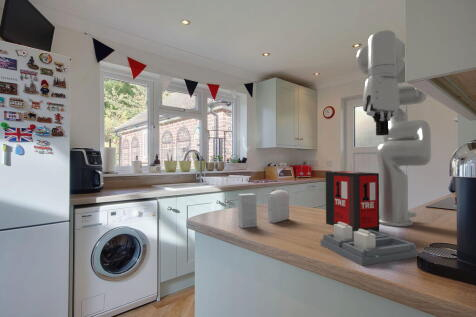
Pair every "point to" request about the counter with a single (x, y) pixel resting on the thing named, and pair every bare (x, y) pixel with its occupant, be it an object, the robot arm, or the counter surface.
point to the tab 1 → (342, 231)
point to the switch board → (382, 252)
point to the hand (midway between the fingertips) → (382, 134)
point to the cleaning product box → (353, 199)
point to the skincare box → (247, 210)
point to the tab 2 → (364, 239)
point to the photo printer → (278, 206)
